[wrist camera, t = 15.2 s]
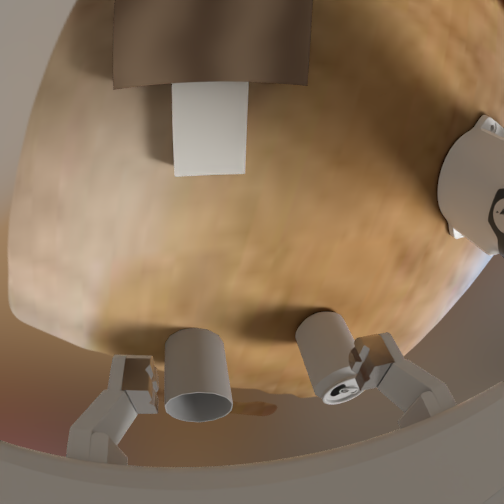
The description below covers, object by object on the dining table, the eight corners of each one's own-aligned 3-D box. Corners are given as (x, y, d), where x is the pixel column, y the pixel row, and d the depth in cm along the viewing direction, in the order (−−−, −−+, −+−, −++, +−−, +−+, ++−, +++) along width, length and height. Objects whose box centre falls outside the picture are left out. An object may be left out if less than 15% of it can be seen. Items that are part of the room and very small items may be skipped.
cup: (206, 369, 45) (213, 425, 37) (157, 355, 42) (156, 415, 34) (234, 337, 42) (245, 398, 34) (179, 320, 38) (181, 386, 30)
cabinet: (292, -11, 19) (313, -26, 15) (286, 81, 25) (307, 85, 20) (131, -11, 17) (117, -27, 12) (129, 85, 22) (113, 89, 18)
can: (300, 308, 41) (329, 381, 31) (348, 306, 42) (383, 371, 33) (288, 344, 45) (310, 412, 35) (332, 340, 46) (359, 402, 37)
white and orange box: (247, -1, 20) (253, -9, 17) (240, 163, 28) (245, 174, 26) (176, -1, 19) (174, -9, 16) (176, 166, 27) (174, 177, 25)
